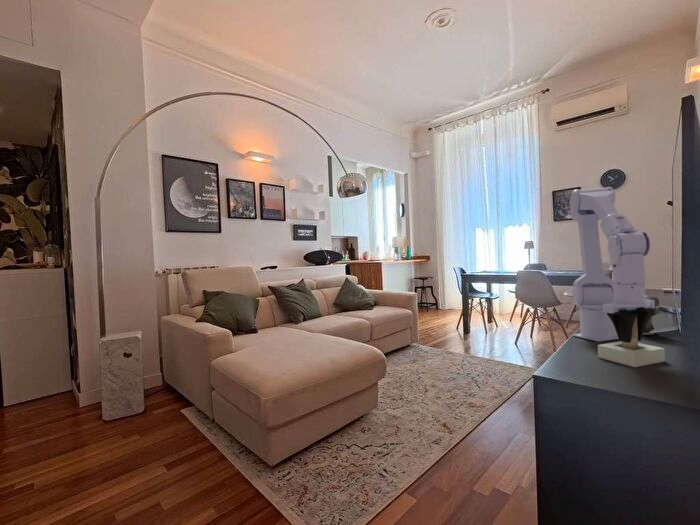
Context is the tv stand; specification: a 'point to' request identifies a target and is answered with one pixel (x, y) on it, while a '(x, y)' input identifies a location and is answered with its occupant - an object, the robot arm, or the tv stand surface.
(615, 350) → the hole block
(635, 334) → the peg
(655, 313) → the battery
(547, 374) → the tv stand surface
